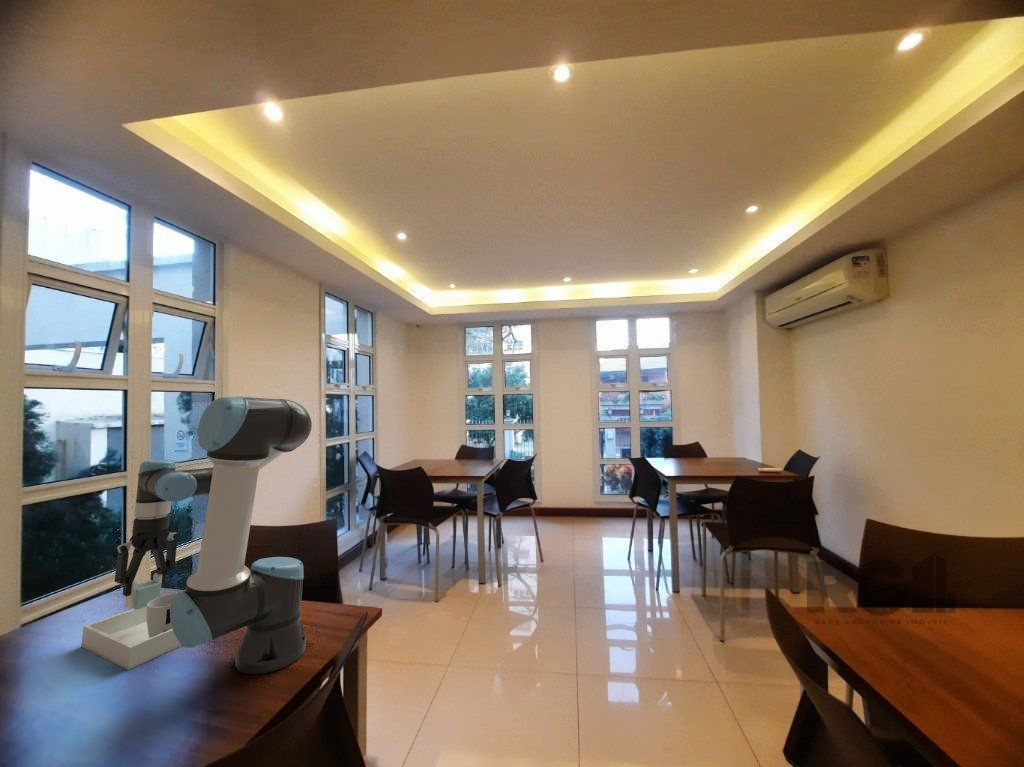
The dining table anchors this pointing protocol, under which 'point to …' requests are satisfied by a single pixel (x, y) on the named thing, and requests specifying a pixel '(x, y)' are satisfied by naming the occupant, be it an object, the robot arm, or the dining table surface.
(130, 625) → the tote
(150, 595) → the cube
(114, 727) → the dining table surface
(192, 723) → the dining table surface
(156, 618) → the cup
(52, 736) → the dining table surface
